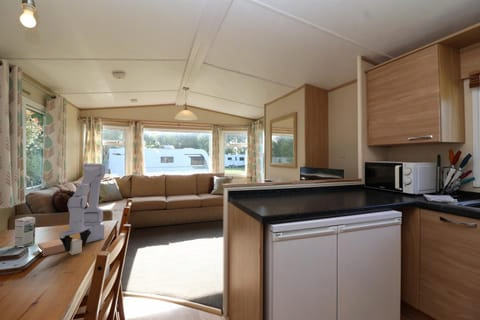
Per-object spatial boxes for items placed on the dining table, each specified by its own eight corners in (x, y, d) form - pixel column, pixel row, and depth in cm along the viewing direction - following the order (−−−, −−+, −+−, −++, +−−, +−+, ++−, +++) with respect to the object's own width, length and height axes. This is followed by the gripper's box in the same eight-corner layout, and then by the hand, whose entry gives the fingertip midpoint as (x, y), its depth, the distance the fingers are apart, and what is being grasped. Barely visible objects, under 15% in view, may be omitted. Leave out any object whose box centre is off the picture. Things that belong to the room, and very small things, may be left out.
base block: (62, 246, 119) (63, 238, 119) (69, 250, 113) (69, 242, 113) (37, 251, 111) (38, 243, 111) (43, 256, 105) (43, 248, 105)
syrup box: (22, 248, 114) (23, 219, 115) (13, 247, 115) (15, 218, 116) (34, 244, 120) (36, 217, 120) (26, 243, 121) (27, 216, 121)
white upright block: (78, 250, 113) (79, 238, 113) (81, 252, 111) (82, 240, 111) (69, 252, 110) (69, 240, 110) (71, 254, 107) (72, 242, 108)
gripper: (84, 217, 119) (83, 242, 118) (55, 223, 105) (53, 252, 104) (94, 218, 117) (93, 244, 116) (66, 225, 103) (64, 254, 102)
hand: (75, 248), depth 110 cm, fingers open, 7 cm apart
